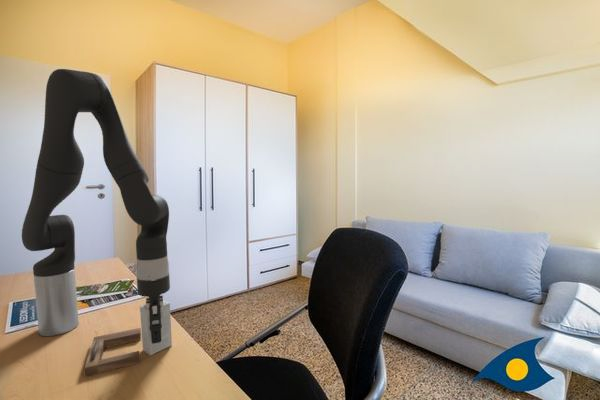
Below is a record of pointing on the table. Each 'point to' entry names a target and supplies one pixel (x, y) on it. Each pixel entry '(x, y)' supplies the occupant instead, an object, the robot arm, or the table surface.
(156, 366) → the table surface
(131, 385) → the table surface
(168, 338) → the skincare box
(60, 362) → the table surface
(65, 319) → the robot arm
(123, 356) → the wooden u-shaped block
